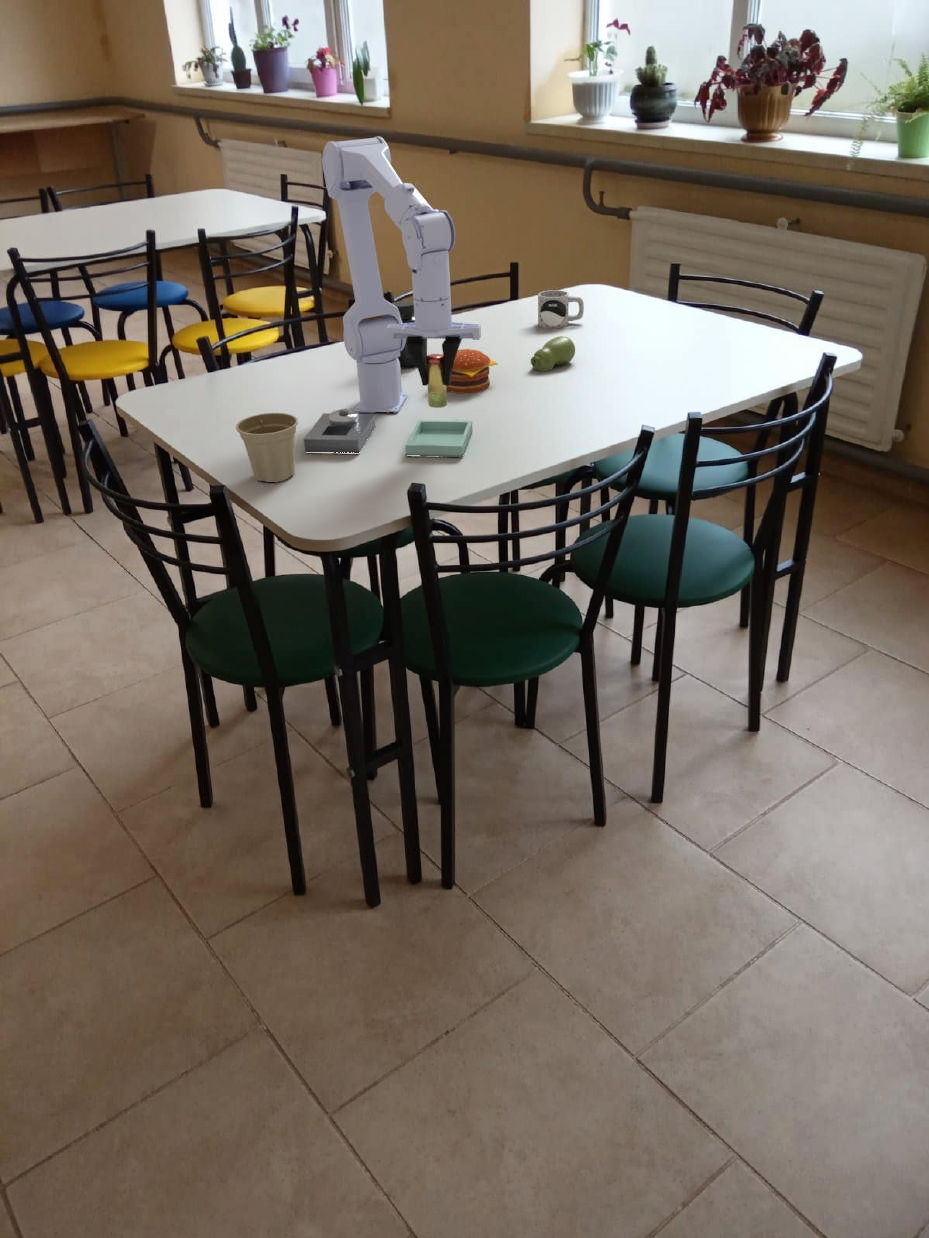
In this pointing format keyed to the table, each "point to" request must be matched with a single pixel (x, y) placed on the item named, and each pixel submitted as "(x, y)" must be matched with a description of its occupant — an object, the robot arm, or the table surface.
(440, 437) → the tray
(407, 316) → the supplement bottle
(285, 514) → the table surface
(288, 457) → the flower pot
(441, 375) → the yellow jar
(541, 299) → the mug
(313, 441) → the block
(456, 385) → the hamburger
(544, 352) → the pear
